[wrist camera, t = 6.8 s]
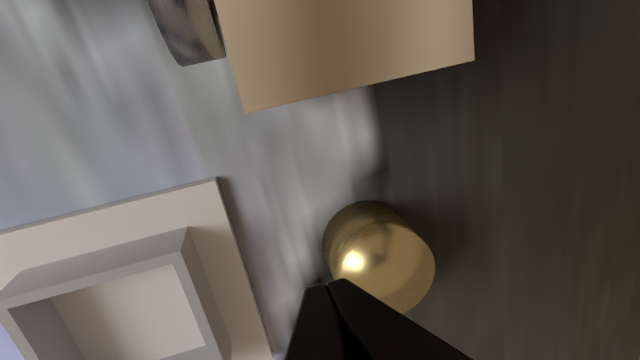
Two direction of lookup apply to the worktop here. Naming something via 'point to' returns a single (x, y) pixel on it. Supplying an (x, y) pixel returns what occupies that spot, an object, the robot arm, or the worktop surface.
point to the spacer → (379, 254)
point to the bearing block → (338, 44)
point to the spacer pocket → (132, 282)
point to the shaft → (189, 29)
